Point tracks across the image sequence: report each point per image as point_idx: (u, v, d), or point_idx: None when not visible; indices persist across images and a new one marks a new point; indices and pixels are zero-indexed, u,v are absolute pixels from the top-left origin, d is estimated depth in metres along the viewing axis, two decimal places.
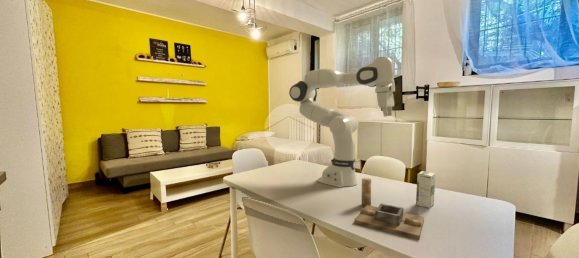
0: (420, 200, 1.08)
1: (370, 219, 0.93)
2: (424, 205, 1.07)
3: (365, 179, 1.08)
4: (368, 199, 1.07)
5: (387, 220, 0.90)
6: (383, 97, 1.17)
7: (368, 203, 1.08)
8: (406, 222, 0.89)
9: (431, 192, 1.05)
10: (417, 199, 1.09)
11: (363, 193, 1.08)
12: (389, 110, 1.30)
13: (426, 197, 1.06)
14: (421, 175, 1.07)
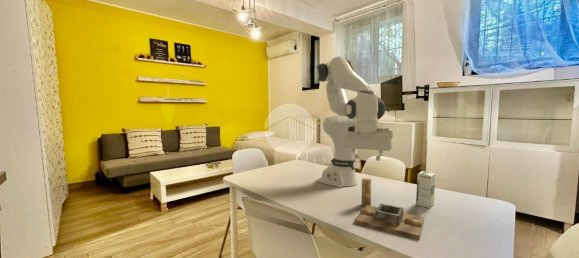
0: (420, 200, 1.08)
1: (370, 219, 0.93)
2: (424, 205, 1.07)
3: (365, 179, 1.08)
4: (368, 199, 1.07)
5: (387, 220, 0.90)
6: None
7: (368, 203, 1.08)
8: (406, 222, 0.89)
9: (431, 192, 1.05)
10: (417, 199, 1.09)
11: (363, 193, 1.08)
12: (379, 154, 1.04)
13: (426, 197, 1.06)
14: (421, 175, 1.07)
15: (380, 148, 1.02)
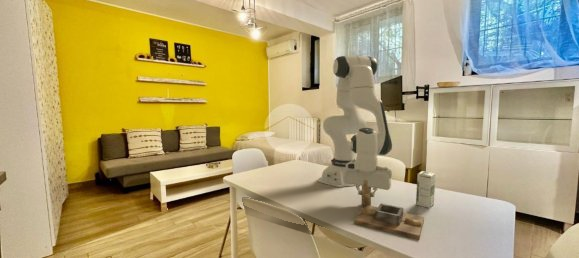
0: (420, 200, 1.08)
1: (370, 219, 0.93)
2: (424, 205, 1.07)
3: None
4: (368, 199, 1.07)
5: (387, 220, 0.90)
6: None
7: (368, 203, 1.08)
8: (406, 222, 0.89)
9: (431, 192, 1.05)
10: (417, 199, 1.09)
11: (363, 193, 1.08)
12: (374, 190, 1.07)
13: (426, 197, 1.06)
14: (421, 175, 1.07)
15: (379, 187, 1.04)
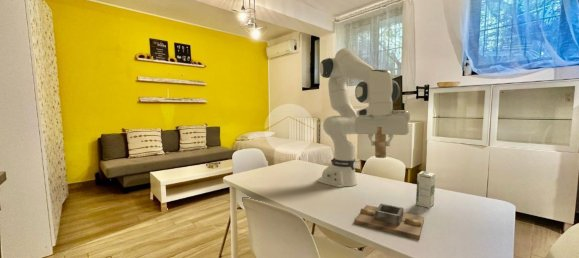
0: (420, 200, 1.08)
1: (370, 219, 0.93)
2: (424, 205, 1.07)
3: None
4: (383, 148, 0.95)
5: (387, 220, 0.90)
6: None
7: (383, 153, 0.95)
8: (406, 222, 0.89)
9: (431, 192, 1.05)
10: (417, 199, 1.09)
11: (377, 142, 0.96)
12: (389, 139, 0.95)
13: (426, 197, 1.06)
14: (421, 175, 1.07)
15: (396, 132, 0.92)
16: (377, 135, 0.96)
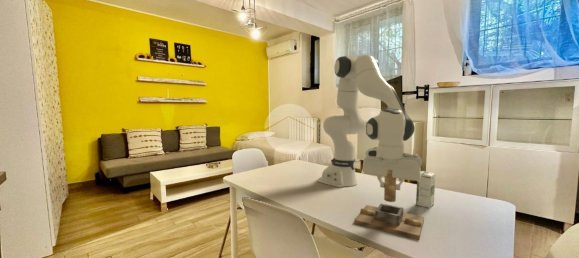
0: (420, 200, 1.08)
1: (370, 219, 0.93)
2: (424, 205, 1.07)
3: None
4: (393, 192, 0.91)
5: (387, 220, 0.90)
6: None
7: (393, 197, 0.91)
8: (406, 222, 0.89)
9: (431, 192, 1.05)
10: (417, 199, 1.09)
11: (387, 185, 0.91)
12: None
13: (426, 197, 1.06)
14: (421, 175, 1.07)
15: (407, 177, 0.87)
16: (387, 178, 0.91)
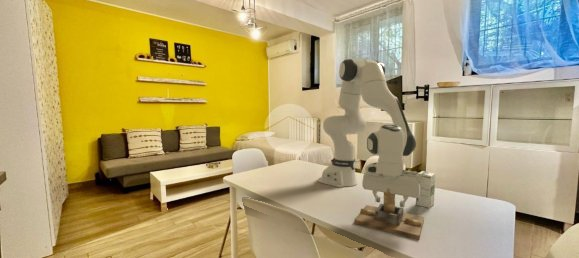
0: (420, 200, 1.08)
1: (370, 219, 0.93)
2: (424, 205, 1.07)
3: None
4: (392, 211, 0.92)
5: (387, 220, 0.90)
6: None
7: None
8: (406, 222, 0.89)
9: (431, 192, 1.05)
10: (417, 199, 1.09)
11: (386, 204, 0.92)
12: (404, 199, 0.90)
13: (426, 197, 1.06)
14: (421, 175, 1.07)
15: (406, 194, 0.88)
16: (386, 196, 0.92)
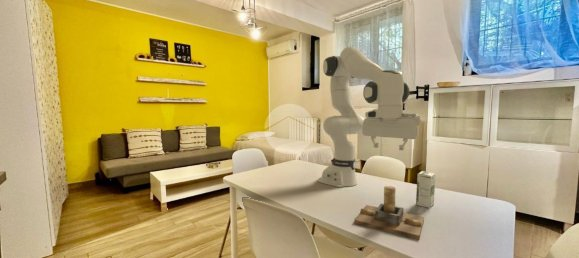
0: (420, 200, 1.08)
1: (370, 219, 0.93)
2: (424, 205, 1.07)
3: (388, 187, 0.92)
4: (392, 211, 0.92)
5: (387, 220, 0.90)
6: None
7: None
8: (406, 222, 0.89)
9: (431, 192, 1.05)
10: (417, 199, 1.09)
11: (386, 204, 0.92)
12: None
13: (426, 197, 1.06)
14: (421, 175, 1.07)
15: (405, 136, 0.90)
16: (386, 197, 0.92)
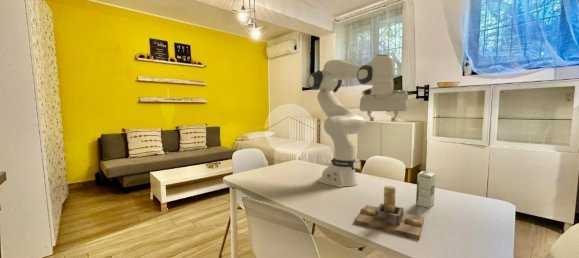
0: (420, 200, 1.08)
1: (370, 219, 0.93)
2: (424, 205, 1.07)
3: (388, 187, 0.92)
4: (392, 211, 0.92)
5: (387, 220, 0.90)
6: None
7: None
8: (406, 222, 0.89)
9: (431, 192, 1.05)
10: (417, 199, 1.09)
11: (386, 204, 0.92)
12: None
13: (426, 197, 1.06)
14: (421, 175, 1.07)
15: (396, 109, 1.07)
16: (386, 197, 0.92)
